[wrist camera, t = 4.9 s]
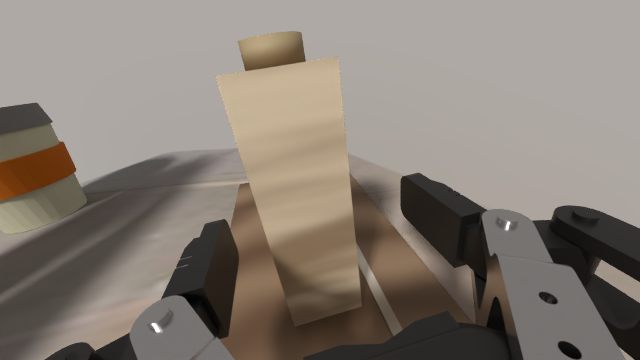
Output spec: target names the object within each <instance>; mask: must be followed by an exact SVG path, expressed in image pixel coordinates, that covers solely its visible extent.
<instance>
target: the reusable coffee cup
mask: <svg viewBox="0 0 640 360" xmlns="http://www.w3.org/2000/svg"><path fill="white" fill-rule="evenodd" d="M52 122H53V121H52V120H51V119H50V118H49V117H48V115H47V114H46V113H45V112H44V110H43V109H42V108H41V107H40V106H39V104H38V103H30V104H23V105H16V106H9V107H2V108H0V229H1V230H2V231H3V232H5V233H7V234H15V233H21V232H25V231H29V230H32V229H36V228H39V227H42V226H45V225H47V224H50V223H52V222H55V221H57V220H59V219H62V218H64V217H66V216H68V215H70V214H71V213H73V212H75V211H77V210H78V209H80V208H81V207H82V206H84V205H85V204H86V203H87V199H86V197H85V195H84V193H83V191H82V189H81V186H80V184H79V182H78V180H77V178H76V176H75V174H74V172H75V171H76V168H75V166H74V163H73V161H72V159H71V157H70V155H69V153H68V151H67V149H66V147H65V144H64V142H59V140H58V138H57V136H56V134H55V132H54V130H53V128H52V126H51V124H50V123H52Z"/></svg>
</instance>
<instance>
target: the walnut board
mask: <svg viewBox="0 0 640 360" xmlns="http://www.w3.org/2000/svg"><path fill="white" fill-rule="evenodd" d="M349 176H350V186H351V197H352V207H353V217H354V228H355V238H356V249H357V259H358V269H359V280H360V290H361V300H362V306H361V307H358V308H355V309H352V310H348V311H345V312H342V313H338V314H335V315H332V316H329V317H325V318H322V319H319V320H315V321H312V322H309V323H306V324H302V325H299V326H296V327H295V326H294V323H293V320H292V317H291V314H290V310H289V307H288V304H287V301H286V298H285V295H284V291H283V288H282V285H281V282H280V279H279V276H278V273H277V269H276V266H275V263H274V260H273V257H272V254H271V250H270V247H269V244H268V241H267V238H266V235H265V232H264V228H263V225H262V222H261V219H260V216H259V213H258V209H257V206H256V203H255V200H254V197H253V194H252V190H251V187H250V184H249V183H245V184H240V186H239V191H238V195H237V200H236V205H235V209H234V214H233V218H232V223H231V228H230V230H231V233H232V235H233V238H234V241H235V243H236V246H237V249H238V253H239V266H238V273H237V280H236V287H235V294H234V301H233V308H232V315H231V322H230V329H229V336H228V337H226V338H222V339H219V340H220V341H221V342H222V344H223V345H224V346H225V348H226V349H227V350H228V351H229V353H230V354H231V355H232V357H233V358H234V359H235V360H303V357H306V356H309V355H312V354H315V353H318V352H321V351H324V350H327V349H330V348H334V347H337V346H340V345H361V344H382V343H385V342H386V341H388V340H389V339H391V338H392V337H393V336H395V335H396V334H397V333H399V332H400V331H402V330H403V329H404V328H406V327H407V326H409V325H410V324H411V323H413V322H414V321H417V320H420V319H423V318H426V317H429V316H433V315H436V314H439V313H442V312H445V311H449V313H450V314H451V315H452V317H453V318H454V319H455V320H456V322H462V323H471V324H473V323H472V322H471V320H470V319H469V318H468V317H467V316H466V314H465V313H464V312H463V311H462V309H461V308H460V307H459V306H458V305H457V303H456V302H455V301H454V300H453V299H452V297H451V296H450V295H449V294H448V292H447V291H446V290H445V289H444V288H443V286H442V285H441V284H440V283H439V282H438V280H437V279H436V278H435V277H434V275H433V274H432V273H431V272H430V271H429V269H428V268H427V267H426V266H425V265H424V263H423V262H422V261H421V260H420V258H419V257H418V256H417V255H416V254H415V252H414V251H413V250H412V249H411V247H410V246H409V245H408V244H407V243H406V241H405V240H404V239H403V238H402V237H401V235H400V234H399V233H398V232H397V230H396V229H395V228H394V227H393V226H392V224H391V223H390V222H389V221H388V220H387V218H386V217H385V216H384V215H383V213H382V212H381V211H380V210H379V209H378V207H377V206H376V205H375V204H374V203H373V201H372V200H371V199H370V198H369V196H368V195H367V194H366V193H365V192H364V190H363V189H362V188H361V187H360V186H359V184H358V183H357V182H356V181H355V179H354V178H353V177H352V176H351V175H350V173H349Z"/></svg>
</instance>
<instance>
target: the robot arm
mask: <svg viewBox="0 0 640 360" xmlns="http://www.w3.org/2000/svg"><path fill="white" fill-rule="evenodd" d="M401 210H402V213H403V215H404V217H405V218H406V219H407V220H408V221H409V222H410V223H411V224H412V225H413V226H414V227H415V228H416V229H417V230H418V231H419V232H420V233H421V234H422V235H423V236H424V237H425V238H426V240H427V241H428V242H429V243H430V244H431V245H432V246H433V247H434V248H435V249H436V250H437V251H438V252H439V253H440V254H441V255H442V256H443V257H444V258H445V259H446V260H447V261H448V262H449V263H450V264H451V265H452V266H453V267H454V268H456V267H460V266H463V265H466V264H467V265H468V266H469V267H470V268H471V269H472V271H471V279H472V287H473V296H474V305H475V314H476V324H471V323H462V322H456V320H455V319H454V318H453V317H452V315H451V314H450V313H449V311H445V312H442V313H439V314H436V315H433V316H429V317H426V318H423V319H420V320H417V321H414V322H413V323H411V324H410V325H409V326H407V327H406V328H404V329H403V330H402V331H400V332H399V333H397V334H396V335H395V336H393V337H392V338H391V339H389V340H388V341H386V342H385V343H382V344H361V345H340V346H337V347H334V348H330V349H327V350H324V351H321V352H318V353H315V354H312V355H309V356H306V357H303V360H626V359H625V358H624V356H623V354H622V352H621V351H620V349H619V347H620V348H621V349H622V350H623V351H625V352H626V353H627V354H628V355H630V356H631V357H632V358H633V359H635V360H640V303H639V302H637V301H636V300H634V299H632V298H631V297H629V296H628V295H626V294H625V293H623V292H622V291H620V290H618V289H617V288H615V287H614V286H612V285H611V284H609V283H608V282H606V281H604V280H603V279H601V278H600V277H598V276H597V275H595V274H594V273H595V271H596V269H597V267H598V265H599V263H600V261H601V260H603V261H605V262H607V263H608V264H610V265H612V266H613V267H615V268H617V269H619V270H620V271H622V272H624V273H625V274H627V275H629V276H630V277H632V278H634V279H636V280H637V281H639V282H640V228H637V227H635V226H633V225H630V224H628V223H626V222H624V221H621V220H619V219H617V218H614V217H612V216H610V215H607V214H605V213H603V212H600V211H597V210H594V209H590V208H586V207H581V206H561V207H558V208H556V209H555V211H554V214H553V217H552V219H551V220H538V221H531V220H530V219H529V218H527V217H526V216H524V215H522V214H520V213H517V212H513V211H510V210H502V209H493V210H488V211H487V210H486V209H484V208H483V207H481V206H479V205H478V204H476V203H474V202H473V201H471V200H469V199H468V198H466V197H465V196H463V195H460V193H458V192H456V191H453V190H452V189H451V188H450V187H448V186H446V185H445V184H442V183H439V182H436V181H432V180H430V179H428V178H427V177H425V176H423V175H422V174H420V173H415V174H411V175H407V176H403V177H402V178H401ZM238 266H239V253H238V249H237V246H236V243H235V241H234V238H233V235H232V233H231V230H230V228H229V225H228V223H227V221H226V220H225V219H222V220H218V221H214V222H210V223H206V224H205V225H204V228H203V230H202V233H201V235H200V237H198V238H194V239H193V240H192V241H191V242H190V243H189V244H188V246H187V247H186V248H185V249H184V251H183V253H182V256H181V258H180V260H179V262H178V264H177V266H176V269H175V270H174V273H173V275H172V277H171V279H170V281H169V283H168V285H167V288H166V290H165V292H164V294H163V296H162V298H161V300H159V301H157V302H156V303H154V304H152V305H151V306H150V307H148V308H147V309H146V310H145V311H144V312H143V313H142V314H141V315H140V316H139V317H138V318H137V320H136V321H135V322H134V324H133V326H132V328H131V331H130V333H128V334H126V335H125V336H123V337H121V338H119V339H117V340H115V341H113V342H111V343H109V344H108V345H106V346H104V347H102V348H100V349H98V350H96V351H95V350H94V349H93V348H92V347H91V346H90V345H89V344H88V343H84V342H81V343H75V344H72V345H69V346H67V347H65V348H63V349H61V350H59V351H57V352H55V353H54V354H52V355H51V356H49V357H48V358H47V359H45V360H235V359H234V358H233V357H232V355H231V354H230V353H229V351H228V350H227V349H226V348H225V346H224V345H223V344H222V342H221V341H220V340H219V339H222V338H226V337H228V336H229V329H230V322H231V315H232V308H233V301H234V294H235V287H236V280H237V273H238ZM618 346H619V347H618Z"/></svg>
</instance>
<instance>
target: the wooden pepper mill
mask: <svg viewBox="0 0 640 360" xmlns="http://www.w3.org/2000/svg"><path fill="white" fill-rule="evenodd" d="M238 44H239V48H240V52H241V56H242V59H243V63H244V67H245V72H238V73H233V74H226V75H220V76H215V77H216V80H217V83H218V86H219V90H220V93H221V95H222V99H223V102H224V105H225V108H226V112H227V114H228V118H229V121H230V124H231V127H232V131H233V133H234V137H235V140H236V143H237V146H238V149H239V153H240V156H241V159H242V162H243V165H244V168H245V172H246V175H247V178H248V181H249V184H250V187H251V190H252V194H253V197H254V200H255V203H256V206H257V209H258V213H259V216H260V219H261V222H262V225H263V228H264V232H265V235H266V238H267V241H268V244H269V247H270V250H271V254H272V257H273V260H274V263H275V266H276V269H277V273H278V276H279V279H280V282H281V285H282V288H283V291H284V295H285V298H286V301H287V304H288V307H289V310H290V314H291V317H292V320H293V323H294V326H295V327H296V326H299V325H302V324H306V323H309V322H312V321H315V320H319V319H322V318H325V317H329V316H332V315H335V314H338V313H342V312H345V311H348V310H352V309H355V308H358V307H361V306H362V300H361V290H360V280H359V269H358V259H357V249H356V238H355V228H354V217H353V207H352V197H351V186H350V176H349V165H348V155H347V146H346V134H345V125H344V114H343V104H342V93H341V82H340V72H339V64H338V63H339V62H338V57H333V58H326V59H320V60H313V61H307V62H306V60H305V54H304V48H303V41H302V35H301V32H280V33H271V34H264V35H259V36H254V37H249V38H246V39H243V40H240V41H238Z"/></svg>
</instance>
